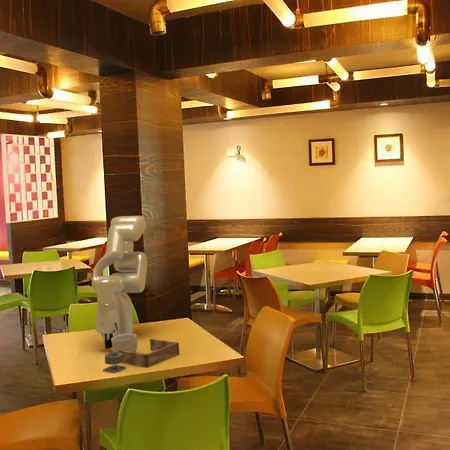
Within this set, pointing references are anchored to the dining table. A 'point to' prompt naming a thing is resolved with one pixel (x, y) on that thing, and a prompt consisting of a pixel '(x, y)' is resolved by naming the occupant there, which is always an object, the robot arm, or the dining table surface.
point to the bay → (152, 353)
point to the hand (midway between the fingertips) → (108, 347)
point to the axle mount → (114, 368)
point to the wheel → (113, 358)
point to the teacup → (124, 342)
